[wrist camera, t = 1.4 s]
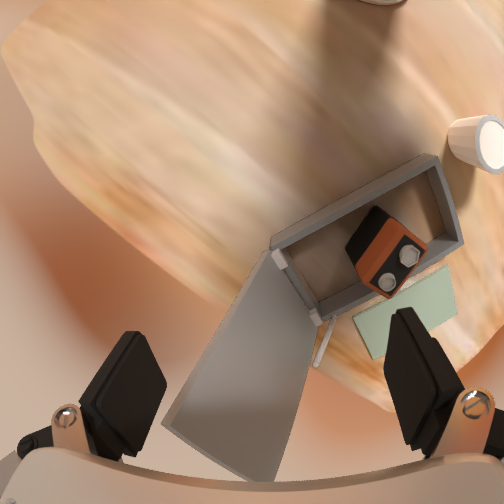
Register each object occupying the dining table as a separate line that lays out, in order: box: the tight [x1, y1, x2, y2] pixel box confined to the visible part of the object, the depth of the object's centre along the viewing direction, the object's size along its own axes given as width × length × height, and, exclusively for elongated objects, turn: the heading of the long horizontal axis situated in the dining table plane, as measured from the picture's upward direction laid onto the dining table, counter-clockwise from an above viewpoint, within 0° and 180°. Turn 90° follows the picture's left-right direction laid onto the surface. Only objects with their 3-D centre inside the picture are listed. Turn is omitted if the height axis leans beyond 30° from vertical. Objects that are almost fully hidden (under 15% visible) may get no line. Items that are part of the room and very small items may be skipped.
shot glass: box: [448, 115, 504, 174], centre depth 24 cm, size 7×7×7 cm
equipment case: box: [270, 153, 464, 368], centre depth 28 cm, size 23×12×11 cm, turn 122°
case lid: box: [161, 250, 318, 482], centre depth 24 cm, size 21×12×1 cm
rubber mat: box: [353, 264, 457, 360], centre depth 37 cm, size 16×10×1 cm, turn 122°
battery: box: [345, 206, 428, 299], centre depth 29 cm, size 4×7×10 cm, turn 151°
